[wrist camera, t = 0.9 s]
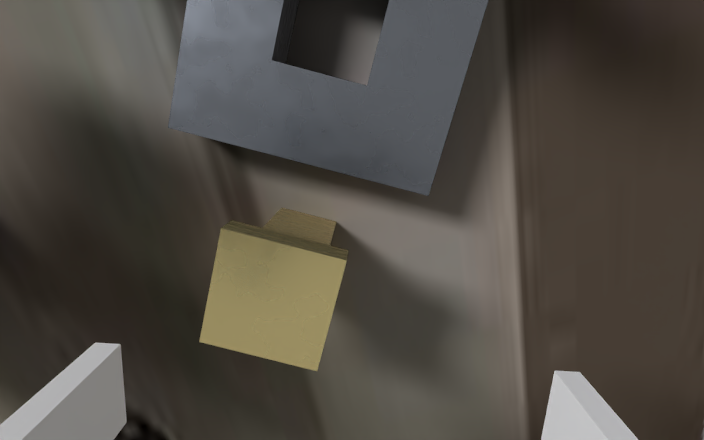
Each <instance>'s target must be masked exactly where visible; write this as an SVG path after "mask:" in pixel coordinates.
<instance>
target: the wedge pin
mask: <svg viewBox="0 0 704 440" xmlns="http://www.w3.org/2000/svg"><path fill="white" fill-rule="evenodd" d="M335 225H336V222H335V221H332V220H328V219H324V218H320V217H316V216H312V215H308V214H305V213H301V212H297V211H293V210H289V209H285V208H281V209H280V210H279V211H278V212H277V213H276V214H275V215H274V216H273V217H272V219H271V220H270V221H269V222H268V223H267V224H266V225H265V226H264V227H263V228H260V227H256V226H252V225H248V224H244V223H241V222H237V221H233V220H231V221H230V222H229V223H227V224H226V225H225V226H223V227H222V228H221V231H220V236H219V241H218V247H217V252H216V257H215V262H214V267H213V273H212V278H211V283H210V288H209V294H208V299H207V304H206V309H205V314H204V320H203V325H202V330H201V335H200V341H199V342H202V343H206V344H210V345H214V346H218V347H222V348H226V349H230V350H234V351H238V352H242V353H246V354H250V355H254V356H258V357H262V358H266V359H270V360H274V361H278V362H282V363H286V364H290V365H294V366H298V367H302V368H306V369H310V370H314V371H317V370H318V366H319V362H320V359H321V355H322V351H323V347H324V344H325V340H326V336H327V333H328V329H329V325H330V321H331V318H332V314H333V310H334V307H335V303H336V299H337V296H338V292H339V288H340V284H341V281H342V277H343V273H344V270H345V266H346V262H347V256H348V250H345V249H342V248H338V247H334V246H330V245H331V241H332V237H333V233H334V229H335Z"/></svg>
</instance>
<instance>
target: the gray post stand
mask: <svg viewBox="0 0 704 440" xmlns="http://www.w3.org/2000/svg"><path fill="white" fill-rule="evenodd" d="M298 3H299V0H187V5H186V12H185V18H184V25H183V32H182V38H181V45H180V52H179V58H178V65H177V71H176V78H175V85H174V91H173V98H172V104H171V111H170V118H169V124H168V128H172V129H175V130H179V131H183V132H187V133H191V134H194V135H198V136H202V137H206V138H210V139H213V140H217V141H221V142H225V143H229V144H232V145H236V146H240V147H244V148H248V149H252V150H255V151H259V152H263V153H267V154H271V155H274V156H278V157H282V158H286V159H290V160H293V161H297V162H301V163H305V164H309V165H312V166H316V167H320V168H324V169H328V170H332V171H335V172H339V173H343V174H347V175H351V176H354V177H358V178H362V179H366V180H370V181H373V182H377V183H381V184H385V185H389V186H393V187H396V188H400V189H404V190H408V191H412V192H415V193H419V194H423V195H427V196H429V193H430V189H431V186H432V183H433V179H434V176H435V173H436V170H437V166H438V163H439V160H440V157H441V153H442V150H443V147H444V144H445V140H446V137H447V134H448V131H449V127H450V124H451V121H452V117H453V114H454V111H455V108H456V104H457V101H458V98H459V95H460V91H461V88H462V85H463V82H464V78H465V75H466V72H467V69H468V65H469V62H470V59H471V56H472V52H473V49H474V46H475V42H476V39H477V36H478V33H479V29H480V26H481V23H482V20H483V16H484V13H485V10H486V7H487V3H488V0H389V3H388V7H387V11H386V14H385V18H384V22H383V26H382V30H381V34H380V38H379V42H378V46H377V50H376V54H375V58H374V61H373V65H372V69H371V73H370V77H369V81H368V85H367V86H366V85H362V84H358V83H355V82H351V81H347V80H343V79H340V78H336V77H332V76H329V75H325V74H321V73H317V72H314V71H310V70H306V69H302V68H299V67H295V66H291V65H288V64H286V61H287V56H288V51H289V46H290V41H291V37H292V32H293V27H294V22H295V17H296V13H297V8H298Z"/></svg>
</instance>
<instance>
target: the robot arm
mask: <svg viewBox="0 0 704 440" xmlns="http://www.w3.org/2000/svg"><path fill="white" fill-rule="evenodd" d="M126 423H127V419H126V406H125V393H124V380H123V367H122V354H121V344H111V343H94V344H93V345H92V346H91V347H90V348H88V349H87V350H86V351H85V352H84V353H83V354H81V355H80V356H79V357H78V358H77V359H76V360H75V361H73V362H72V363H71V364H70V365H69V366H68V367H66V368H65V369H64V370H63V371H62V372H61V373H60V374H58V375H57V376H56V377H55V378H54V379H53V380H51V381H50V382H49V383H48V384H47V385H46V386H45V387H43V388H42V389H41V390H40V391H39V392H38V393H36V394H35V395H34V396H33V397H32V398H31V399H30V400H28V401H27V402H26V403H25V404H24V405H23V406H21V407H20V408H19V409H18V410H17V411H16V412H15V413H13V414H12V415H11V416H10V417H9V418H8V419H6V420H5V421H4V422H3V423H2V424H1V425H0V440H114V439H115V437H116V436H117V435H118V433H119V432H120V431H121V429H122V428H123V427H124V425H125V424H126ZM541 440H638V439H637V438H636V436H635V435H634V434H633V433H632V432H631V431H630V429H629V428H628V427H627V426H626V425H625V424H624V423H623V421H622V420H621V419H620V418H619V417H618V416H617V414H616V413H615V412H614V411H613V410H612V409H611V408H610V406H609V405H608V404H607V403H606V402H605V401H604V399H603V398H602V397H601V396H600V395H599V394H598V393H597V391H596V390H595V389H594V388H593V387H592V386H591V384H590V383H589V382H588V381H587V380H586V379H585V377H584V376H583V375H582V374H581V373H580V372H569V371H554V376H553V382H552V387H551V392H550V397H549V402H548V407H547V412H546V417H545V422H544V427H543V432H542V437H541Z"/></svg>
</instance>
